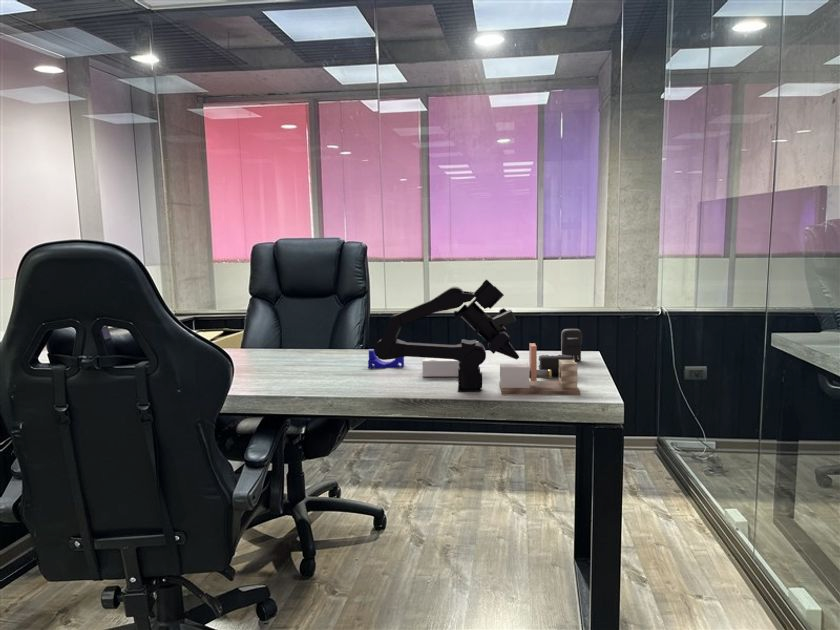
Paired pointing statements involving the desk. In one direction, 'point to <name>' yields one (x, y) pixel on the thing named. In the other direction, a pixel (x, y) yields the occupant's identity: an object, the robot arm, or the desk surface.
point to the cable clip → (382, 364)
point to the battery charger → (571, 343)
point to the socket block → (567, 374)
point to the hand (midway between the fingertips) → (518, 358)
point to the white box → (440, 367)
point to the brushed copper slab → (533, 365)
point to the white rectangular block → (514, 375)
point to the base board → (542, 389)
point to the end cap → (552, 362)
